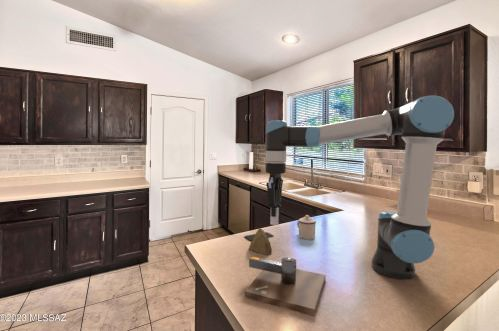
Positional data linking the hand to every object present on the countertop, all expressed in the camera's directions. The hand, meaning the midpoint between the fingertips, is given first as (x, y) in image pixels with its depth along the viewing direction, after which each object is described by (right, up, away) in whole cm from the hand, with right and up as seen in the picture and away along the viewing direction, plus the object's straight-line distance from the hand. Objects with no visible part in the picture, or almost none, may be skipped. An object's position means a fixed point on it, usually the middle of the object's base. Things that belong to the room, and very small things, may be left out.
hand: (274, 224), depth 99 cm
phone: (-4, -16, +40) cm, 44 cm away
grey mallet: (-1, -17, -7) cm, 18 cm away
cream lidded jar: (+21, -16, +42) cm, 50 cm away
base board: (+4, -20, -10) cm, 22 cm away
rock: (-4, -18, +21) cm, 28 cm away
